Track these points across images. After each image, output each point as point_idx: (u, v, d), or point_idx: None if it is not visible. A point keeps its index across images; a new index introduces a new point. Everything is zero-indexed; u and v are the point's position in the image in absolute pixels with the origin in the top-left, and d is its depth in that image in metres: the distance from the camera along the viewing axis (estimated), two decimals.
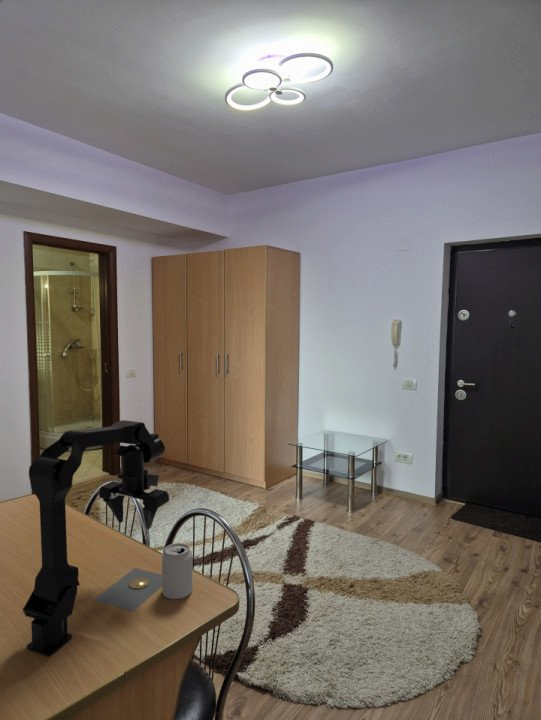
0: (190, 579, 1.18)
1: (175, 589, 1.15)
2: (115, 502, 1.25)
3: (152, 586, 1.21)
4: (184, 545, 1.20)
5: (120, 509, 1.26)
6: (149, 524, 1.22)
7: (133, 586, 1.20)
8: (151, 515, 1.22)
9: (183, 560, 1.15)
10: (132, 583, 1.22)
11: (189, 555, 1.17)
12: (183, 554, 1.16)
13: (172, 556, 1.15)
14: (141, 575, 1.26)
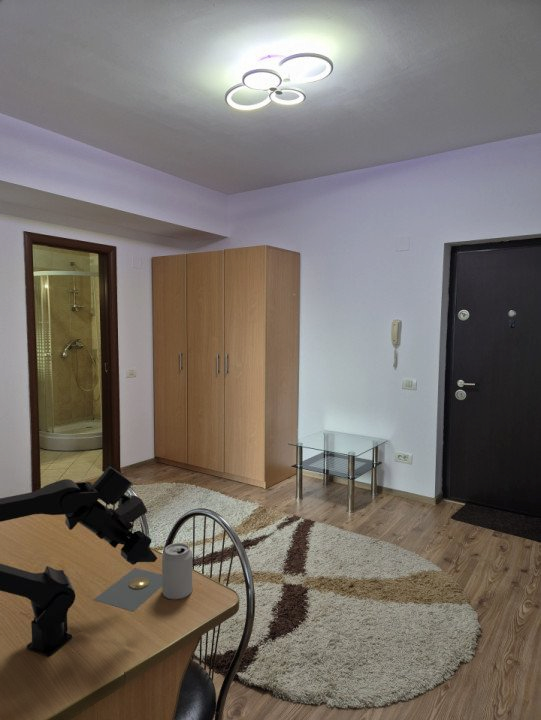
0: (190, 579, 1.18)
1: (175, 589, 1.15)
2: None
3: (152, 586, 1.21)
4: (184, 545, 1.20)
5: (128, 538, 1.15)
6: (151, 560, 1.08)
7: (133, 586, 1.20)
8: (145, 555, 1.06)
9: (183, 560, 1.15)
10: (132, 583, 1.22)
11: (189, 555, 1.17)
12: (183, 554, 1.16)
13: (172, 556, 1.15)
14: (141, 575, 1.26)
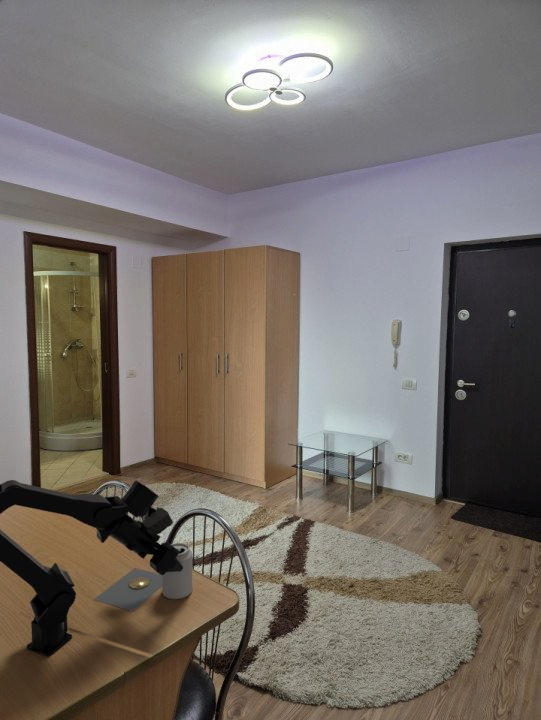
0: (190, 579, 1.18)
1: (175, 589, 1.15)
2: None
3: (152, 586, 1.21)
4: (184, 545, 1.20)
5: (154, 548, 1.19)
6: (177, 569, 1.13)
7: (133, 586, 1.20)
8: (173, 565, 1.11)
9: (183, 560, 1.15)
10: (132, 583, 1.22)
11: (189, 555, 1.17)
12: (183, 554, 1.16)
13: None
14: (141, 575, 1.26)
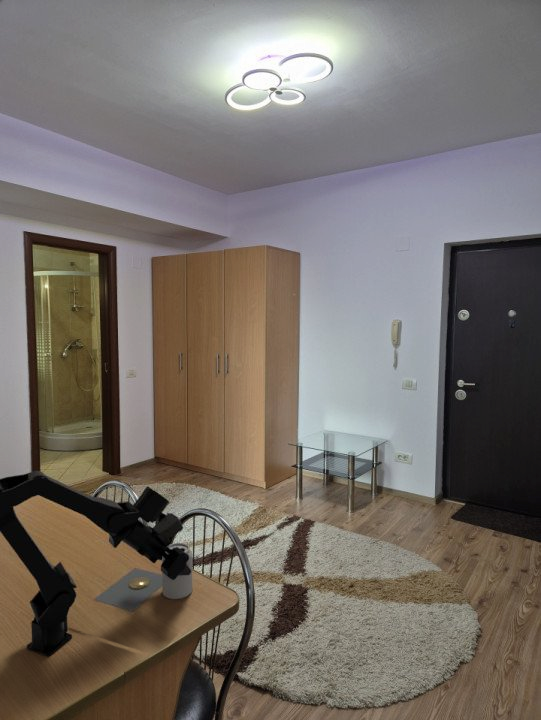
0: (190, 579, 1.18)
1: (175, 589, 1.15)
2: None
3: (152, 586, 1.21)
4: (184, 545, 1.20)
5: None
6: (186, 573, 1.15)
7: (133, 586, 1.20)
8: (181, 569, 1.13)
9: None
10: (132, 583, 1.22)
11: (189, 555, 1.17)
12: None
13: None
14: (141, 575, 1.26)
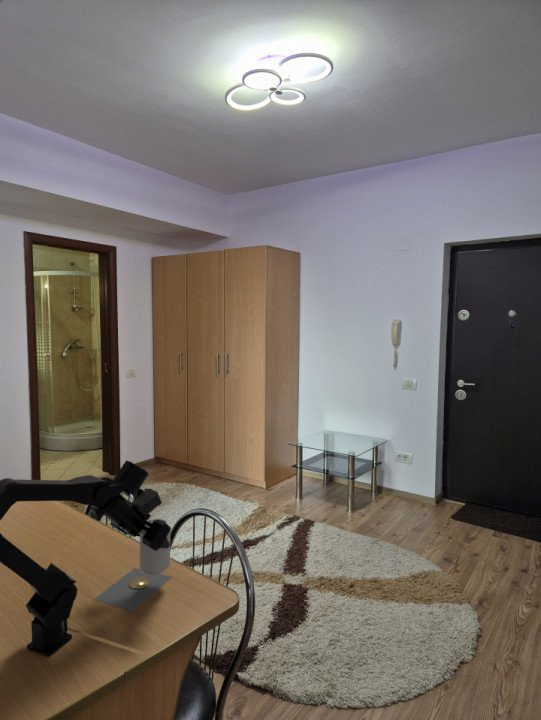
0: (168, 553, 1.20)
1: (154, 563, 1.17)
2: None
3: (152, 586, 1.21)
4: (161, 520, 1.22)
5: None
6: (165, 546, 1.17)
7: (133, 586, 1.20)
8: None
9: None
10: (132, 583, 1.22)
11: None
12: None
13: None
14: (141, 575, 1.26)
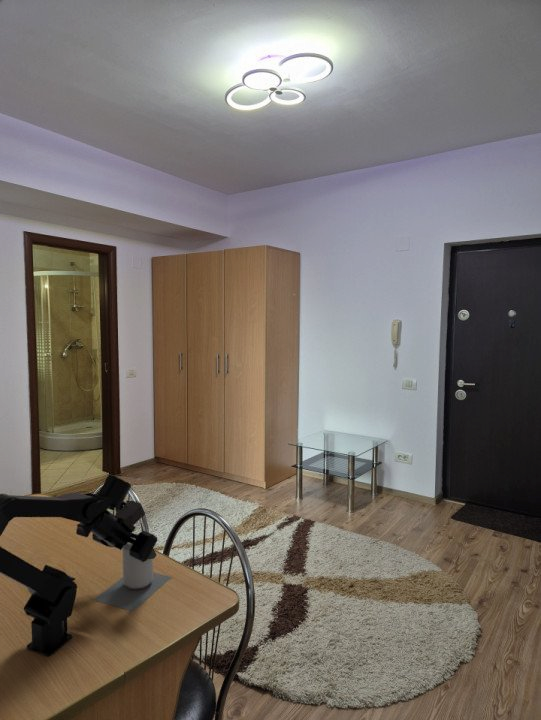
0: (152, 566, 1.22)
1: (139, 578, 1.18)
2: None
3: (152, 586, 1.21)
4: None
5: None
6: (152, 556, 1.18)
7: None
8: None
9: None
10: None
11: None
12: None
13: None
14: None
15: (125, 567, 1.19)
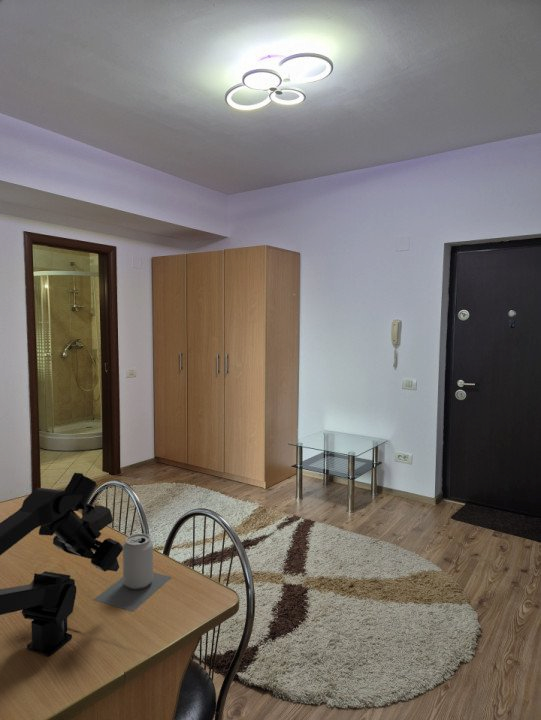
0: (152, 567, 1.21)
1: (139, 578, 1.18)
2: None
3: (152, 586, 1.21)
4: (143, 535, 1.23)
5: None
6: (114, 568, 1.10)
7: None
8: (111, 563, 1.09)
9: (147, 548, 1.19)
10: None
11: (151, 544, 1.21)
12: (146, 543, 1.19)
13: (135, 546, 1.18)
14: None
15: (125, 567, 1.19)
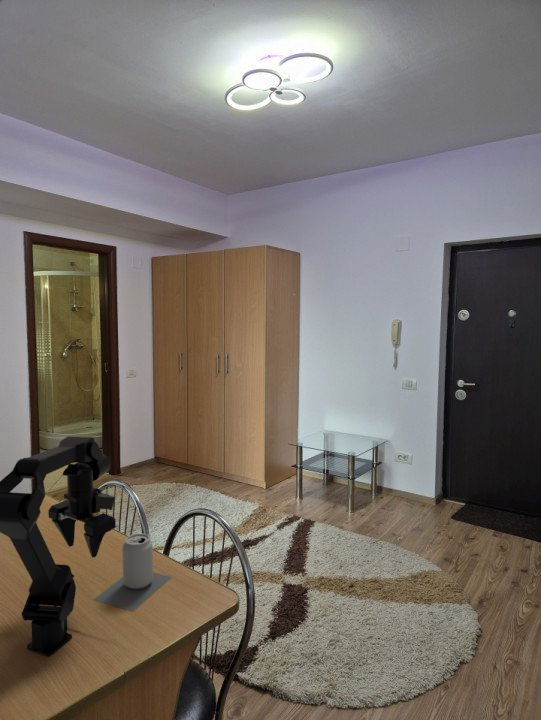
0: (152, 566, 1.22)
1: (139, 578, 1.18)
2: (64, 524, 1.15)
3: (152, 586, 1.21)
4: (143, 535, 1.23)
5: (70, 532, 1.16)
6: (93, 552, 1.10)
7: None
8: (95, 542, 1.10)
9: (146, 548, 1.19)
10: None
11: (151, 543, 1.21)
12: (145, 543, 1.19)
13: (135, 546, 1.18)
14: None
15: (125, 567, 1.19)
